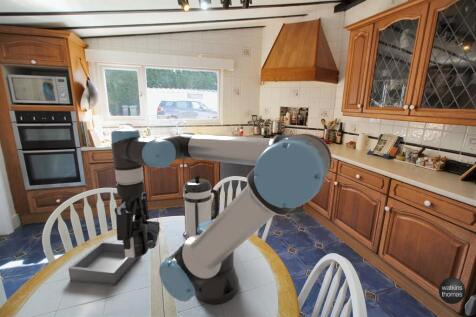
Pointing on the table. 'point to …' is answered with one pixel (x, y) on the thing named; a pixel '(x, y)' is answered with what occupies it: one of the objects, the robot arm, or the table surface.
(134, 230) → the supplement bottle
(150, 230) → the dark slate chunk
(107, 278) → the bin
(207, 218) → the coffee press
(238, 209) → the robot arm
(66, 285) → the table surface
